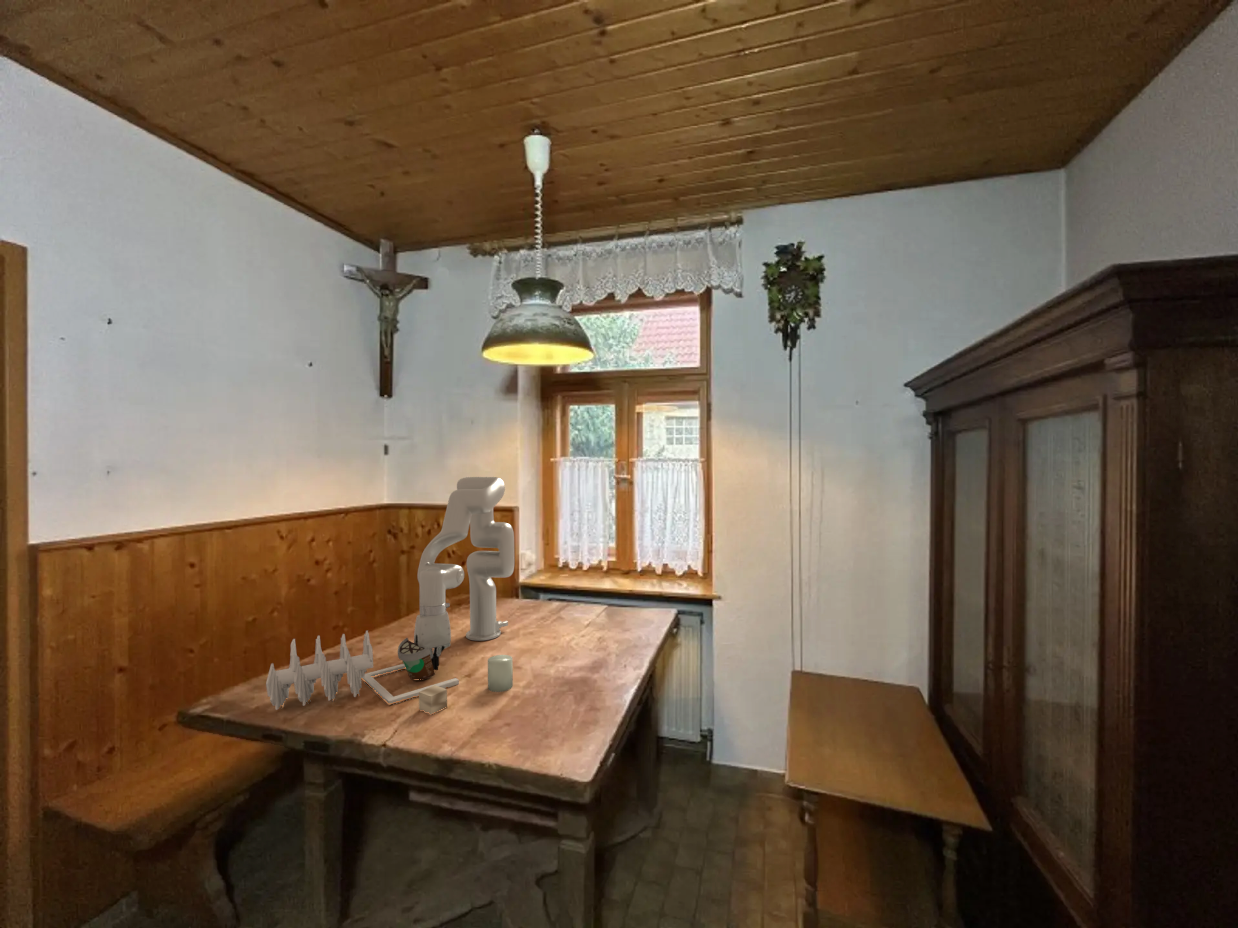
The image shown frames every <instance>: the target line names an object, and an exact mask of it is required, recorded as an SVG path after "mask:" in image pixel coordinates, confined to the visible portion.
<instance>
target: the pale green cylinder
mask: <svg viewBox="0 0 1238 928" xmlns="http://www.w3.org/2000/svg"><path fill="white" fill-rule="evenodd" d="M513 668H514V667H513V657H512V656H511V655H508V654H497V655H492V656H490V657H489V658H488V659H487V690H488V691H490V692H493V693H502V692H507V691H509V690H511V689H512V688H513V684H514V683H513Z"/></svg>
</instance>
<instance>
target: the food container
mask: <svg viewBox="0 0 1238 928" xmlns="http://www.w3.org/2000/svg"><path fill="white" fill-rule="evenodd" d="M397 647H398V648H397V657H398V659H399V660H400V661H402V664H404V665H405V667H406V669H405V670H406V671H407V674H408V676H409V678H410V679H411V678H412V679H419V680H420V679H421V680H420V681H423V680H422V679H425V680H427V679H429V678H432V677H433V676H434V675H436V674H435V673H436V672H435V671H434V668H433V665H432V661H431V657H430V654H431V653H430V651H429V649H428V647H427V648H423V647H421V648H419V646H418V645H417V644H415V643H414V641H413V642H412V641H410V640H409V637H405V638H404V639H403V640H402V641H401V642H400V643H399V644H398V646H397ZM412 679H411V680H412Z"/></svg>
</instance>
